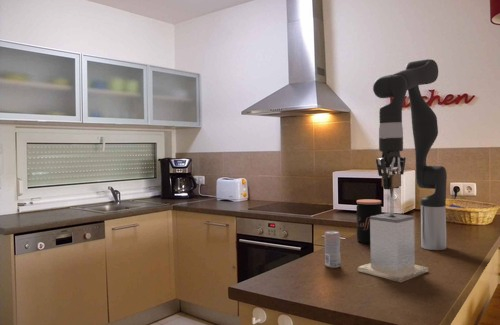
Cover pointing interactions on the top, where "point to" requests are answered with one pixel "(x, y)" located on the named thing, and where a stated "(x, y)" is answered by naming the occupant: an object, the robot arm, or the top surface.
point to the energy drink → (332, 249)
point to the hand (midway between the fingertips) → (391, 188)
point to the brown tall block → (394, 183)
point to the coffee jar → (366, 217)
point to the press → (392, 248)
